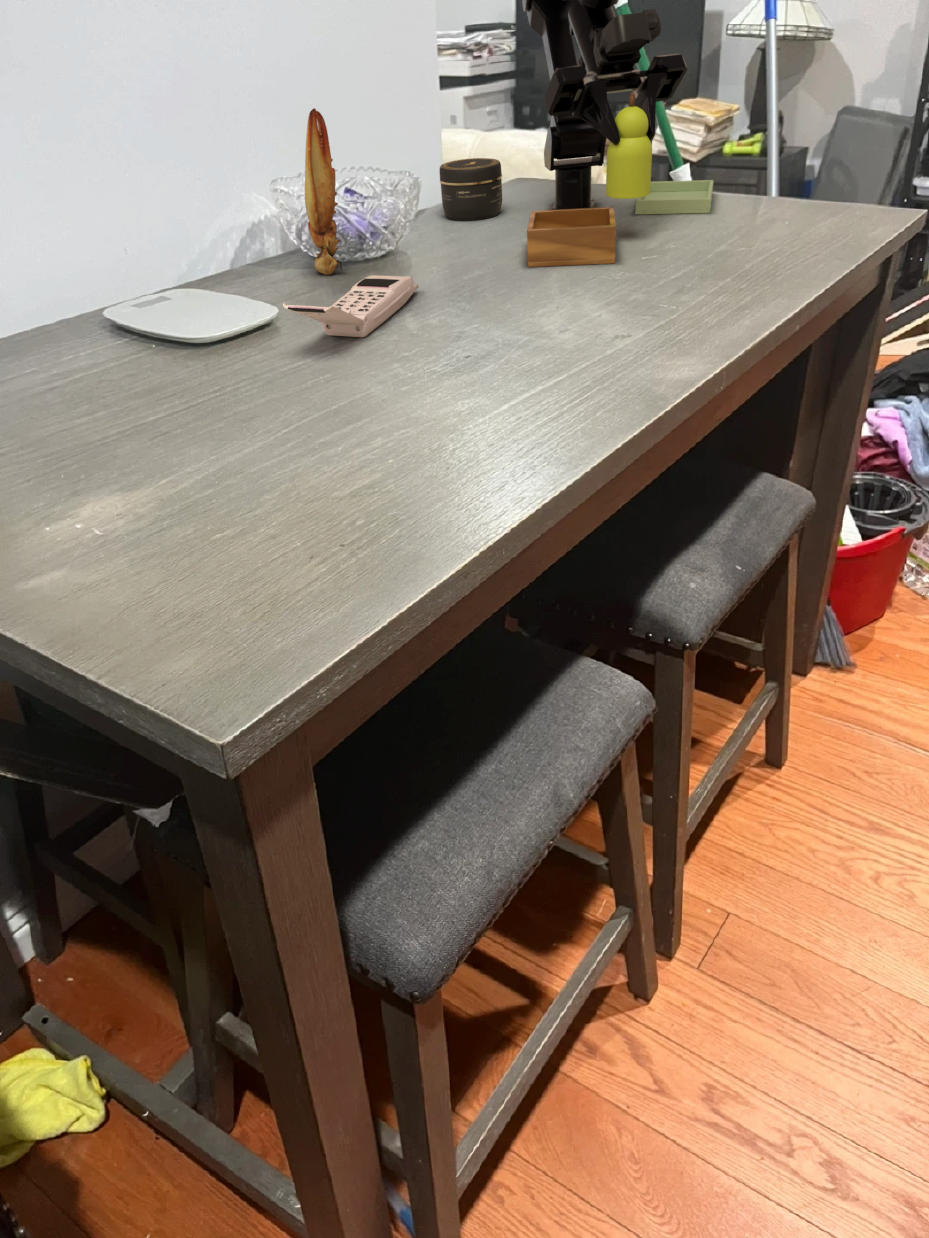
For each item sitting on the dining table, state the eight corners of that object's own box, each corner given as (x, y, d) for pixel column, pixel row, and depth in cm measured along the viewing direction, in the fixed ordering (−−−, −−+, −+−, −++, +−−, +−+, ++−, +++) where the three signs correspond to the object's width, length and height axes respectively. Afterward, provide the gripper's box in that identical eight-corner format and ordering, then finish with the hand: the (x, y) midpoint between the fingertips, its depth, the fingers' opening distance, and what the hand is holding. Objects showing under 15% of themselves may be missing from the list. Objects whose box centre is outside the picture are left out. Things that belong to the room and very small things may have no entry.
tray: (643, 195, 151) (643, 182, 150) (712, 193, 148) (713, 180, 147) (635, 214, 140) (635, 200, 139) (709, 213, 137) (710, 199, 136)
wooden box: (531, 245, 129) (531, 211, 126) (612, 241, 128) (613, 206, 125) (527, 267, 120) (526, 230, 117) (615, 263, 118) (615, 226, 116)
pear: (599, 192, 126) (602, 92, 119) (640, 187, 127) (645, 88, 120) (614, 201, 122) (618, 98, 114) (656, 196, 123) (663, 93, 115)
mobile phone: (278, 305, 93) (375, 241, 112) (288, 361, 97) (380, 290, 116) (331, 307, 91) (420, 243, 110) (339, 364, 95) (424, 292, 114)
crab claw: (333, 283, 120) (307, 112, 109) (299, 282, 122) (270, 114, 110) (355, 269, 125) (333, 104, 114) (322, 268, 127) (297, 106, 115)
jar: (506, 206, 151) (504, 156, 147) (500, 220, 143) (497, 167, 139) (448, 209, 153) (444, 159, 148) (438, 223, 145) (433, 171, 140)
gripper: (552, -8, 111) (591, 104, 109) (686, -21, 116) (725, 87, 114) (528, 62, 122) (563, 165, 120) (651, 48, 126) (686, 147, 125)
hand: (635, 140), depth 119 cm, fingers closed on pear, 5 cm apart
